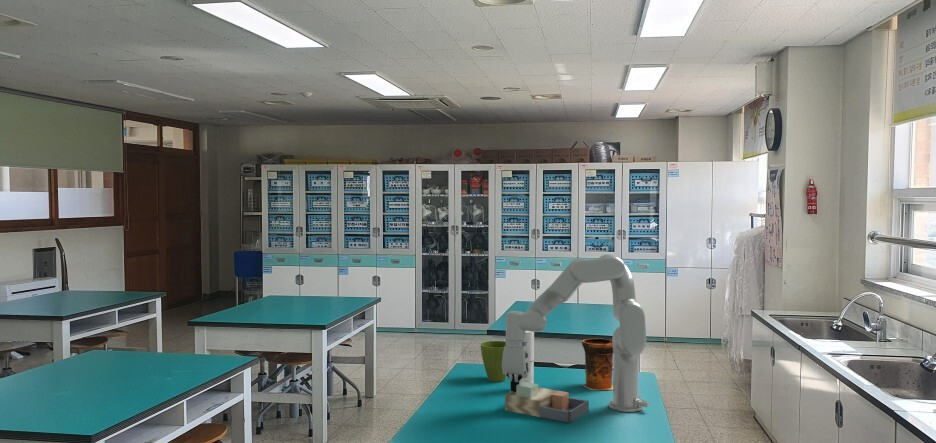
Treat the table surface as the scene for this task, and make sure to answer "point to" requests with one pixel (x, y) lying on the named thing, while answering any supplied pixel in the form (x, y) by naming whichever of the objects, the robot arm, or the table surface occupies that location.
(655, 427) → the table surface
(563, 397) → the salmon rectangular block
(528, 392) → the pale green block
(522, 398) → the striped wooden block
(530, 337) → the cylindrical container
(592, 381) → the vessel
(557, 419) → the box
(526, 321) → the robot arm
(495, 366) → the flower pot
